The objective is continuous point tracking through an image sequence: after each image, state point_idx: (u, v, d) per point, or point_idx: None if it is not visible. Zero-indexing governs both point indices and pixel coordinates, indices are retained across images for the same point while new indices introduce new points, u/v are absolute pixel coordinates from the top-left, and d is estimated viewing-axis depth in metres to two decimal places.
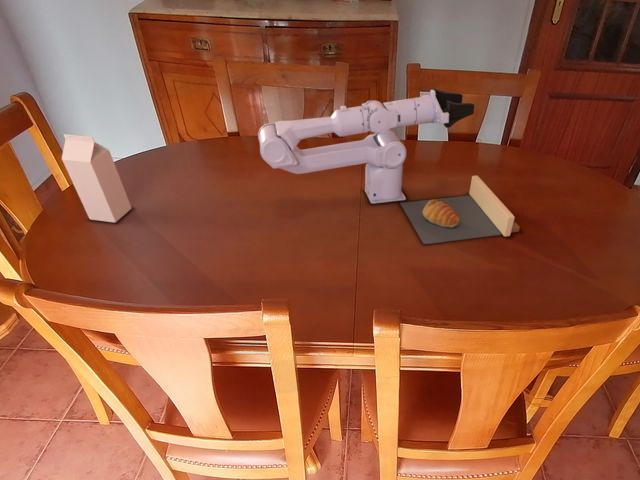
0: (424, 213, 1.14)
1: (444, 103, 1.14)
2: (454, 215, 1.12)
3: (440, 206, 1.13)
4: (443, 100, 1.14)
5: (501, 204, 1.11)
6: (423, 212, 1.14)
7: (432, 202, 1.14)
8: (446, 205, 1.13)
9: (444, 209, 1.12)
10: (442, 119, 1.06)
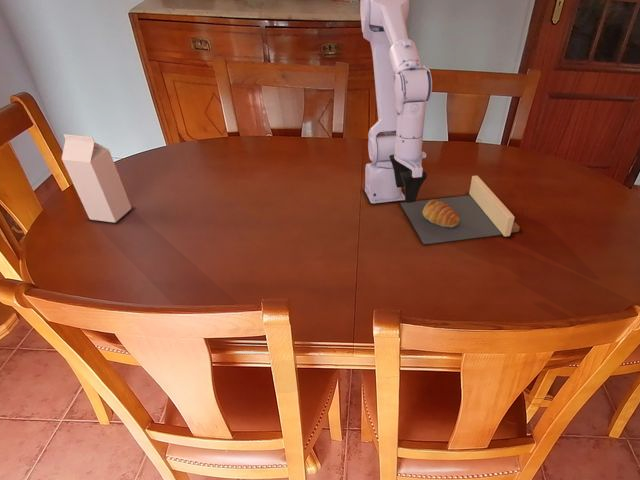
0: (424, 213, 1.14)
1: (400, 168, 1.08)
2: (454, 215, 1.12)
3: (440, 206, 1.13)
4: (403, 167, 1.08)
5: (501, 204, 1.11)
6: (423, 212, 1.14)
7: (432, 202, 1.14)
8: (446, 205, 1.13)
9: (444, 209, 1.12)
10: (417, 170, 0.97)
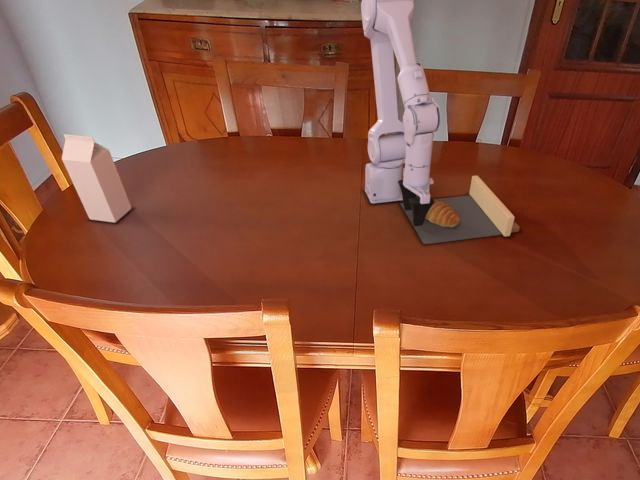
0: None
1: (408, 192, 1.13)
2: (454, 215, 1.12)
3: (440, 206, 1.13)
4: (411, 191, 1.12)
5: (501, 204, 1.11)
6: None
7: None
8: (446, 205, 1.13)
9: (444, 209, 1.12)
10: (425, 197, 1.02)
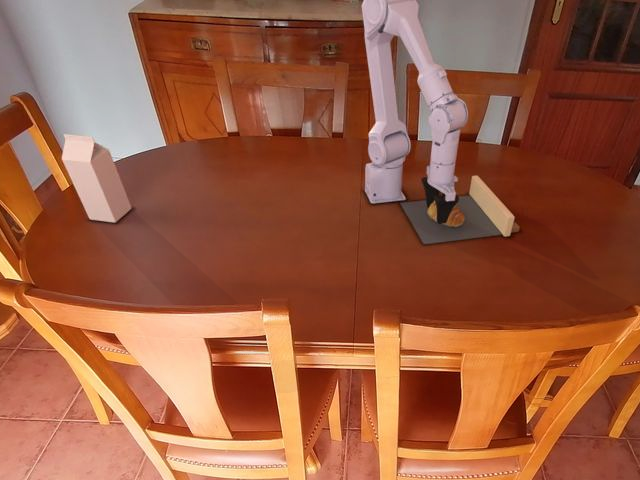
0: (429, 212, 1.14)
1: (431, 189, 1.14)
2: (459, 215, 1.12)
3: None
4: (434, 189, 1.14)
5: (501, 204, 1.11)
6: (428, 211, 1.14)
7: None
8: None
9: None
10: (451, 194, 1.03)
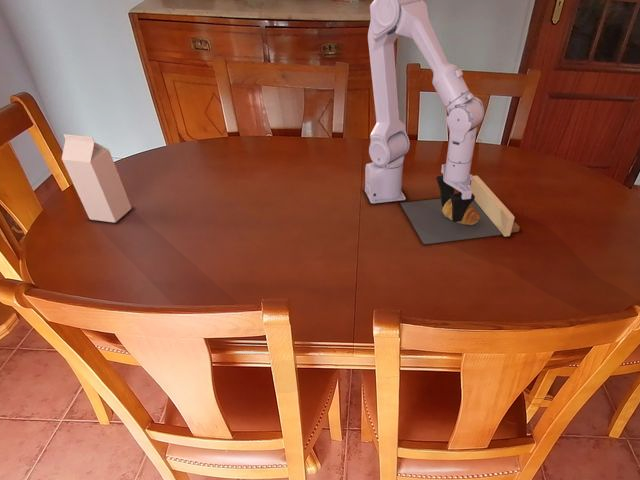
0: (444, 211, 1.15)
1: (446, 188, 1.14)
2: (474, 213, 1.12)
3: None
4: (449, 187, 1.14)
5: (501, 204, 1.11)
6: (443, 210, 1.15)
7: None
8: None
9: None
10: (467, 192, 1.04)
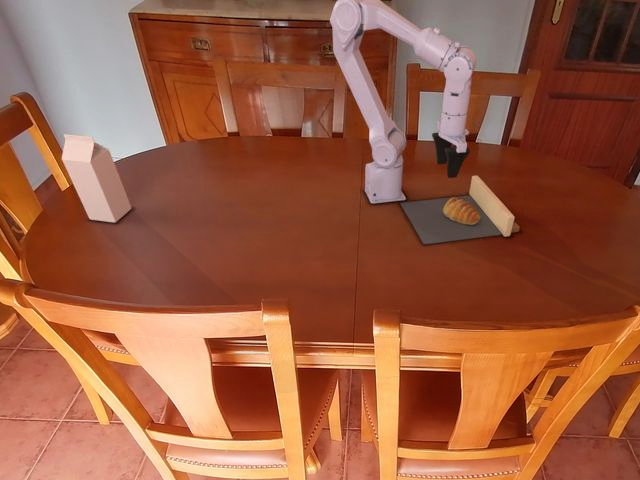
0: (445, 211, 1.15)
1: (442, 145, 1.14)
2: (475, 213, 1.13)
3: (461, 204, 1.14)
4: (445, 144, 1.14)
5: (501, 204, 1.11)
6: (444, 210, 1.15)
7: (453, 200, 1.15)
8: (467, 203, 1.14)
9: (465, 207, 1.13)
10: (462, 145, 1.03)
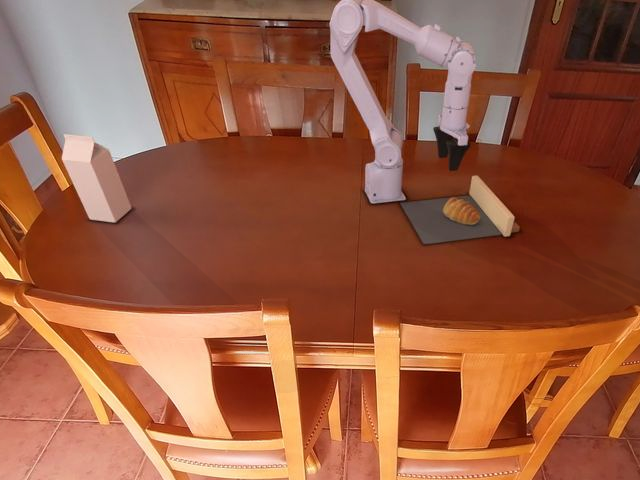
0: (445, 211, 1.15)
1: (443, 139, 1.16)
2: (475, 213, 1.13)
3: (461, 204, 1.14)
4: (446, 138, 1.16)
5: (501, 204, 1.11)
6: (444, 210, 1.15)
7: (453, 200, 1.15)
8: (467, 203, 1.14)
9: (465, 207, 1.13)
10: (463, 138, 1.05)
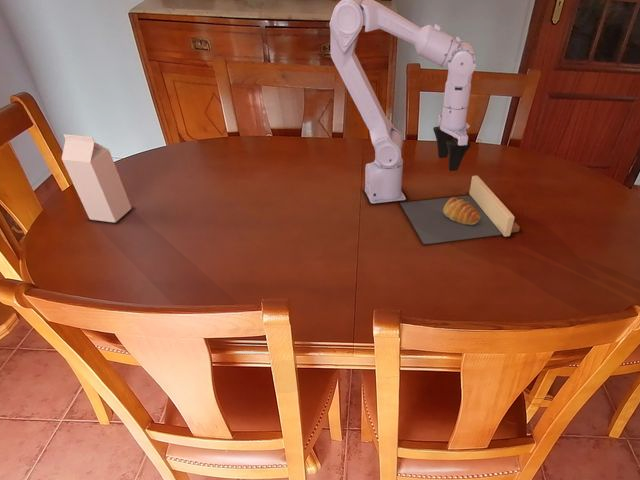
0: (445, 211, 1.15)
1: (443, 139, 1.16)
2: (475, 213, 1.13)
3: (461, 204, 1.14)
4: (446, 138, 1.16)
5: (501, 204, 1.11)
6: (444, 210, 1.15)
7: (453, 200, 1.15)
8: (467, 203, 1.14)
9: (465, 207, 1.13)
10: (463, 138, 1.05)
